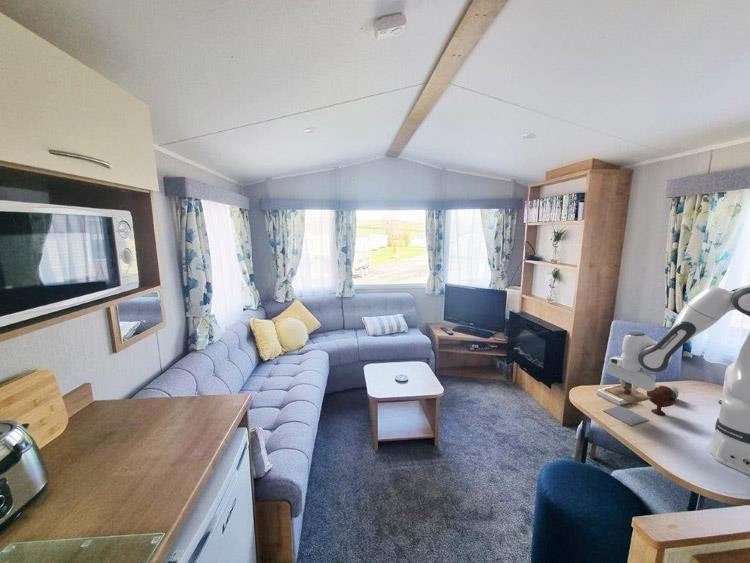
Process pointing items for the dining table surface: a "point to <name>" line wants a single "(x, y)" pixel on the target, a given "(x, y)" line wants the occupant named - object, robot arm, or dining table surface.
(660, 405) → the ice cream bowl
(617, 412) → the mat
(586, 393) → the dining table surface
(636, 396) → the lid
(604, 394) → the dish
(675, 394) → the ceramic mug
